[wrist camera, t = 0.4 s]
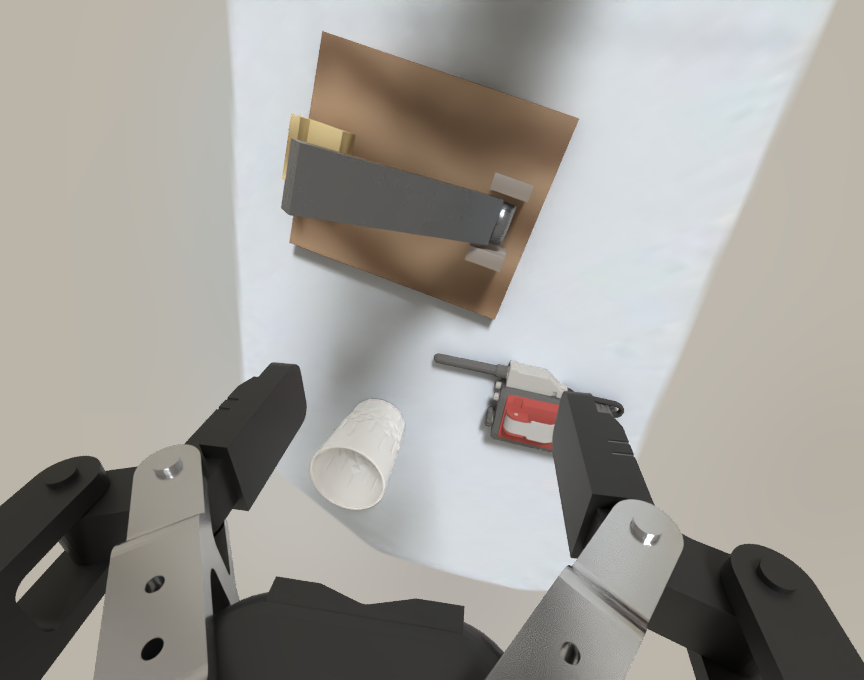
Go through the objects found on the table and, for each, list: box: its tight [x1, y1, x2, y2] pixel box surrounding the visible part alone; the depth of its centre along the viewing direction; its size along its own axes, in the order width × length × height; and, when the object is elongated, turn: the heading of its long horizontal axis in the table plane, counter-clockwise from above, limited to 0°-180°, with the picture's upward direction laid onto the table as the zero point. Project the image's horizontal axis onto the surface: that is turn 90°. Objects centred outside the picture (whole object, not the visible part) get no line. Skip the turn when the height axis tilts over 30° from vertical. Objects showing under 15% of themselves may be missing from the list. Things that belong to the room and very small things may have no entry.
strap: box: [281, 138, 517, 246], centre depth 26 cm, size 4×18×2 cm
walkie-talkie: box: [434, 354, 624, 452], centre depth 41 cm, size 9×4×20 cm
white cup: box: [310, 399, 405, 510], centre depth 43 cm, size 8×8×10 cm
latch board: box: [282, 31, 579, 320], centre depth 34 cm, size 18×22×6 cm
